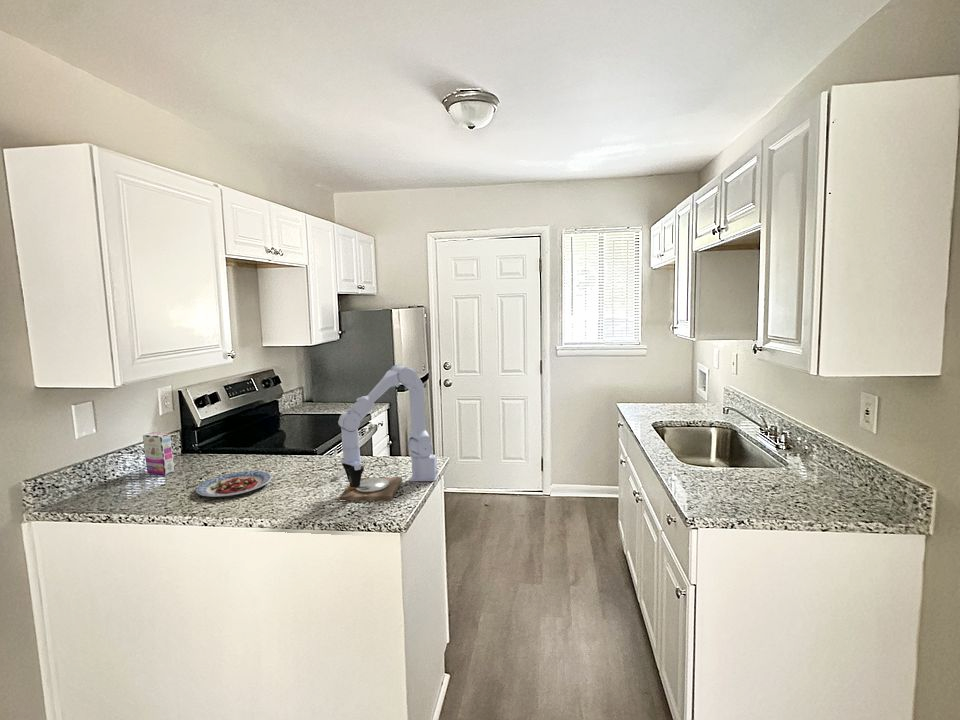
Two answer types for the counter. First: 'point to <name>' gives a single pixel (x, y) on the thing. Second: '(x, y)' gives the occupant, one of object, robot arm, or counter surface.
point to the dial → (370, 485)
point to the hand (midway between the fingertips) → (354, 484)
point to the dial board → (380, 495)
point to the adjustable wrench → (343, 472)
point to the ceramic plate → (233, 483)
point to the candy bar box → (159, 453)
